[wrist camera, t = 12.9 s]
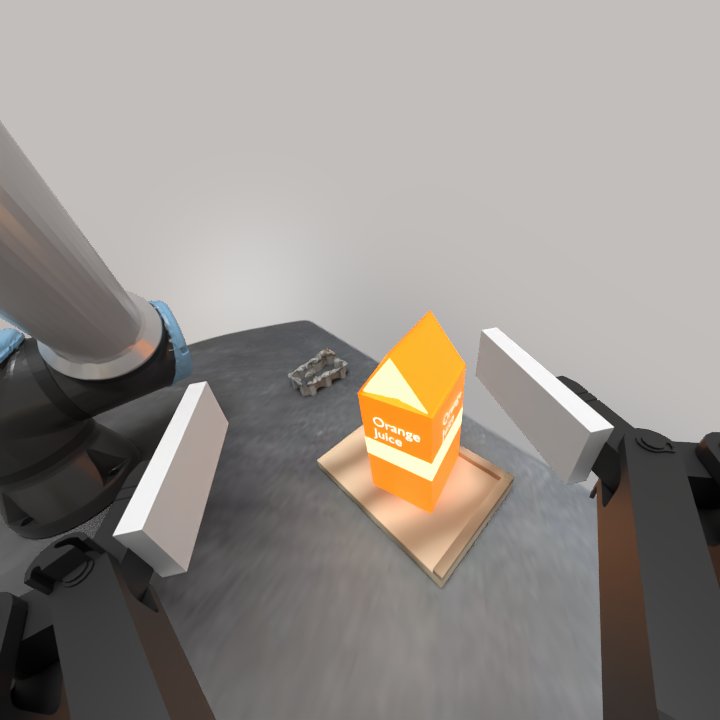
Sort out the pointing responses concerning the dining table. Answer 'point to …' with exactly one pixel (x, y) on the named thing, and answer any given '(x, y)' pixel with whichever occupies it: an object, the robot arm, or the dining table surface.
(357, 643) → the dining table surface
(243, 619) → the dining table surface
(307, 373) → the egg carton
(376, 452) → the orange juice
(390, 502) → the serving board
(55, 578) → the robot arm
